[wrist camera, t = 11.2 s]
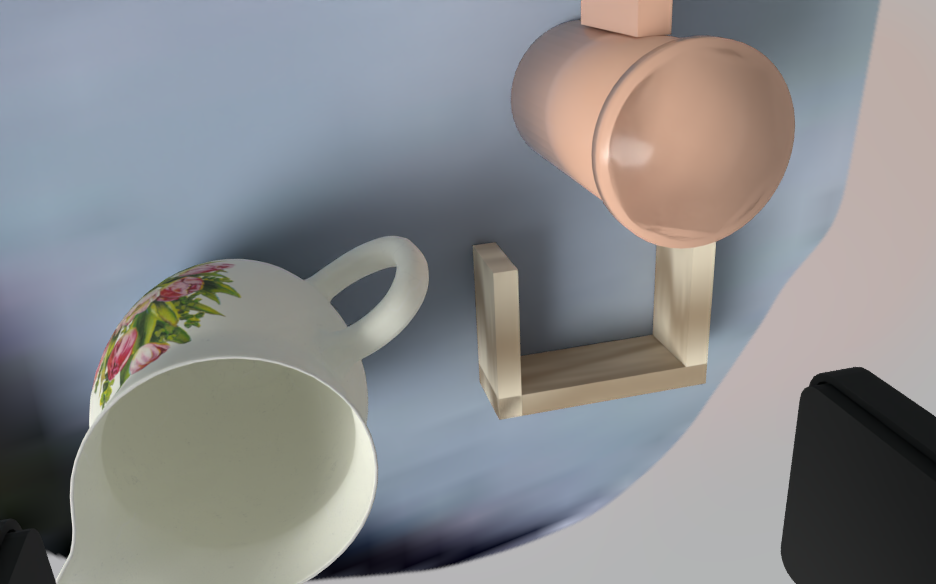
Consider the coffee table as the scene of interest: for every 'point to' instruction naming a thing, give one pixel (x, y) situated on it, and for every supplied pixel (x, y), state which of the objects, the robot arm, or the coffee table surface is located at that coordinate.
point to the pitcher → (235, 425)
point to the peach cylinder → (656, 120)
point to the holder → (598, 365)
